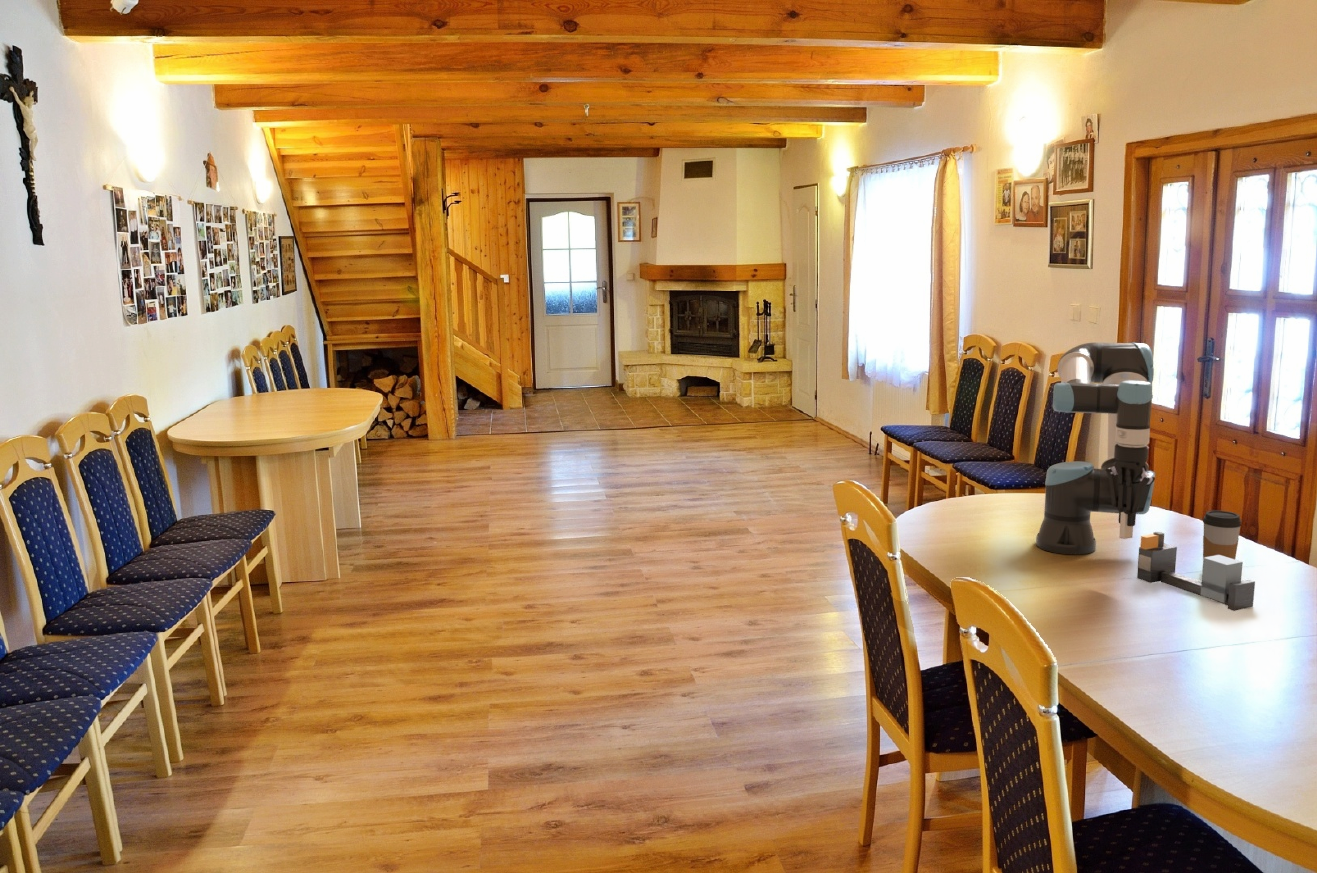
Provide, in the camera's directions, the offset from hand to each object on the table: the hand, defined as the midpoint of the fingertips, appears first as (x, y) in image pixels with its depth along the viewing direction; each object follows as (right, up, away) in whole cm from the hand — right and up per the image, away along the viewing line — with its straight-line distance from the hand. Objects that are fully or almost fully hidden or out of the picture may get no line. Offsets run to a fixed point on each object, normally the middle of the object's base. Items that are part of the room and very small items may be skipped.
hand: (1125, 537), depth 244 cm
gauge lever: (+4, -2, -4) cm, 6 cm away
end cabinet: (+6, -10, -2) cm, 12 cm away
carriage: (+13, -13, -18) cm, 26 cm away
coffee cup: (+24, -9, +1) cm, 25 cm away
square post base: (+15, -13, -23) cm, 30 cm away
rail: (+11, -12, -13) cm, 21 cm away
